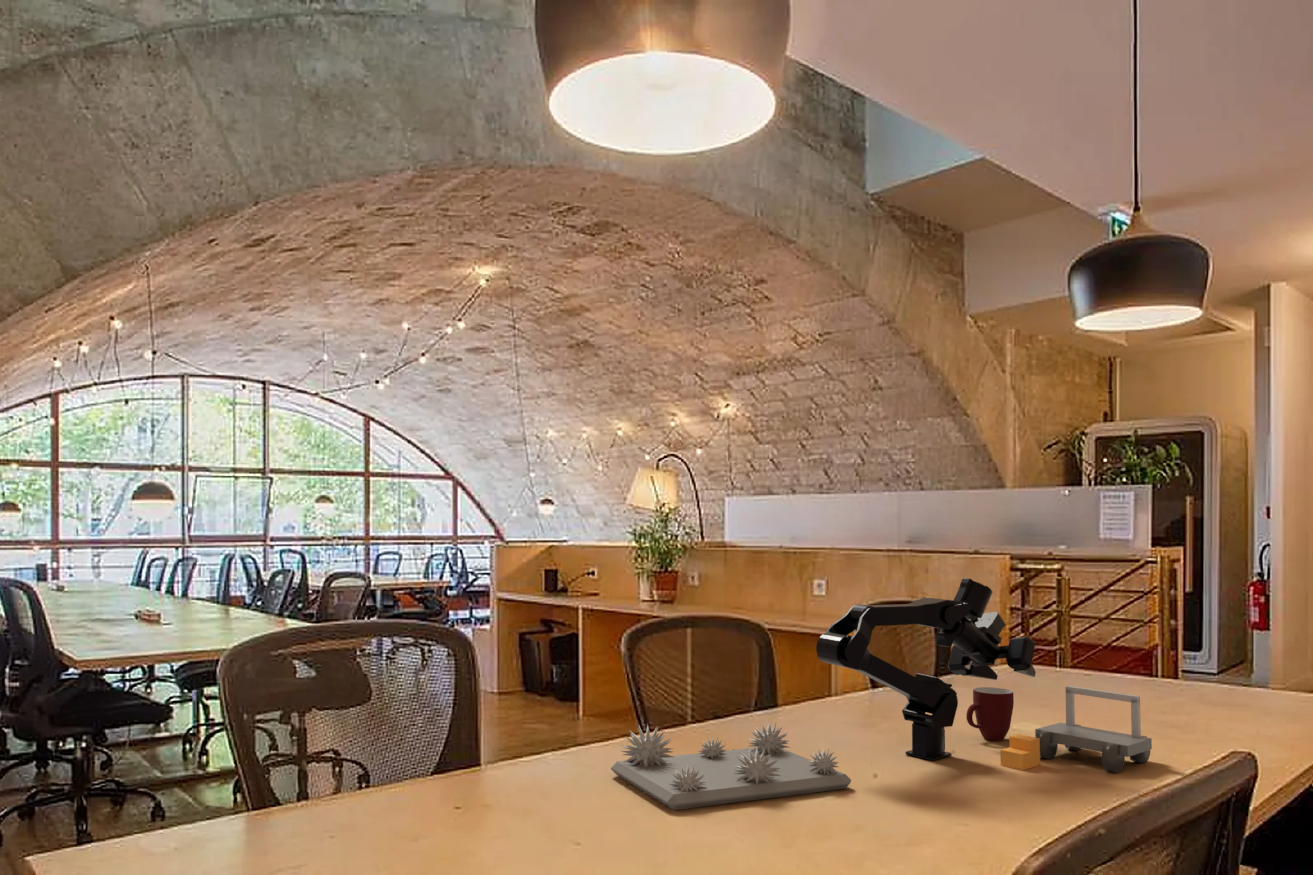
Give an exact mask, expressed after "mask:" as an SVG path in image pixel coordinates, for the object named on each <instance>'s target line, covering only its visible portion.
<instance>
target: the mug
mask: <svg viewBox="0 0 1313 875" xmlns="http://www.w3.org/2000/svg"><path fill="white" fill-rule="evenodd" d="M1014 702H1015V700H1014V691H1013V690H1010V689H1008V688H1007V689H1006V688H1004V687H1003V688H1002V687H993V686H992V687H991V686H990V687H987V686H986V687H984V686H983V687H982V686H981V687H975V688H973V690H972V704H970V705H969V707H968V708H967V710H966V713H965V714H966V718H965V719H966V722H967V723H968V725H969V726H970V727H972V728H974V729H978V730H979V733H980V734H981V736H982V738H983V739H984V740H986V741H989V742H990V741H991V742H1002V741H1004V740H1005V738H1006V736H1007V734H1008V733H1009V731H1010V727H1011V722H1012V716H1013V711H1014ZM973 714H975V719H976V723H975V722H974V720H973Z"/></svg>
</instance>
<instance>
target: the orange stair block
mask: <svg viewBox="0 0 1313 875" xmlns="http://www.w3.org/2000/svg"><path fill="white" fill-rule="evenodd" d="M1008 739H1009V740H1008V741H1009V744H1008V745H1009V747H1006V748H1002V749H1000V766H1002V767H1007V768H1012V769H1016V770H1021V771H1024V770H1027V769H1029V768H1030V769H1031V768H1035V767H1036V766H1040V764H1041V757H1040V738H1035V737H1033V736H1030V735H1025V734H1024V735H1023V734H1014V735H1010V736H1009V738H1008Z"/></svg>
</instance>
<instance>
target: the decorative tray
mask: <svg viewBox="0 0 1313 875" xmlns="http://www.w3.org/2000/svg"><path fill="white" fill-rule="evenodd" d="M776 727H777V723H775V724H774V725H773V727H772V726H771V725H770V722H768V724H767V727H766V728H765V726H764V725H763V722H761V723H760V728H761V730H759V729H758V728H757V727H755V726H754V728H755V729H754V732H753V731H750V730H749V732H750V733H751V734H752V735H753V736H754V737H755V738H748V739H747V740H748V741H751V742H749V745H748V747H747V748H737V749H728V750H727V749H723V748H725V746H726V743H725V744H722V740H721V741H718V739H719V737H717V738H716V740H715V741H714V737H713V736H712V737H711V741H710V739H709V737H708V736H707V738H706V740H707V742H706V741H705V740H703V739H702V743H700V742H699V744H700V745H701V746H702V747H701V748H699V750H700V751H698V752H697V753H696V752H695V753H687V754H677V755H675V754H674V755H670V754H668V753H673V751H671V750H673V749H675V748H671V747H665V746H667V745H668V744H670V743H671V742H672V740H671V739H672V738H668V739H665V740H663V739H664V737H665V735H664V733H665V731H663V732H661V733H660V732H658V730H659V727H658V725H656V727H655V729H654V730H653V732H652V734H650V729H649V724H648V723H647V725H646V732H645V735H644V732H643V730H642V729H641V726H640V724H638V731H639V737H638V735H636V734H635V733H634V732H632V731H631V730H629V732H630V734H629V736H630V738H629V737H627V736H625V735H624V737H625V739H627V741H629V742H630V743H631V745H623V746H622V745H621V746H620V747H621V748H624V749H627V750H623V751H621V750H620V752H622V753H623V754H622V756H628V757H629V756H630V757H629V758H628V759H625V760H618V761H616V762H615V763H613V765H612V766H611V767H610V770H611V771H612V773H614V774H615V775H616V776H618V777H619V778H621V779H622V780H624V781H625V782H627V783H629V784H631V785H632V786H634V787H635V788H637V789H639V790H641V791H642V792H643V793H645V794H647V795H648V796H649V797H651V798H653V799H655V800H657V801H658V802H659V803H661V804H663V805H665V806H667V808H669V809H671V810H673V811H676V810H677V811H678V810H683V809H684V810H686V809H692V808H693V809H694V808H700V807H701V808H702V807H709V806H717V805H726V804H732V803H733V804H734V803H741V802H742V803H743V802H748V801H756V800H765V799H766V800H767V799H773V798H781V797H782V798H783V797H789V796H797V795H805V794H813V793H822V792H829V791H837V790H844V789H845V790H846V789H847V788H848V787H849V786H850V784H851V782H852V779H851V778H850V777H849V776H848V775H847V774H846V773H844V772H842V771H839V770H836V769H835V768H839V765H838V764H839V763H840V762H839V761H835V759H837V756H834V757H832V756H833V755H834V752H831V753H830V754H829V751H830V750H829V748H828V749H827V751H826V752H825V749H824V747H823V748H822V750H821V751H820V749H818V748H817V749H816V752H817V753H815V752H813V753H812V755H810V754H809V756H810V757H811V758H812V759H813V760H811V759H809V758H807V757H804V756H801V755H799V754H797V753H794V752H792V751H789V750H787V749H789V748H790V749H791V747H790V746H788V745H789V743H787V742H789V740H785V739H784V738H785V737H786V736H787V735H788V732H787V733H784V734H781V735H780V733H781V732H782V729H783V727H780V728H778V729H776ZM657 732H658V733H657ZM783 739H784V740H783Z"/></svg>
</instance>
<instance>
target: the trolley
mask: <svg viewBox="0 0 1313 875" xmlns="http://www.w3.org/2000/svg"><path fill="white" fill-rule="evenodd" d="M1075 695H1081V696H1087V697H1092V698H1093V697H1094V698H1101V699H1107V700H1114V701H1121V702H1128V703H1130V718H1131V720H1130V721H1131V722H1130V723H1131V726H1130V727H1131V734H1129V733H1123V732H1116V731H1113V730H1111V731H1110V730H1105V729H1101V728H1094V727H1089V726H1084V725H1081V724H1078V723H1076V722H1075V721H1076V720H1075V719H1076V715H1075V714H1076V712H1075V709H1076V708H1075ZM1141 724H1142V723H1141V695H1134V694H1128V693H1121V692H1114V691H1108V690H1100V689H1092V688H1088V687H1087V688H1086V687H1080V686H1073V685H1066V686H1065V722H1058V723H1053V724H1050V725H1046V726H1041V727H1038V728H1035V731H1034V732H1035V738H1040V758H1042V759H1048V760H1051V759H1054V758H1055V757H1056V754H1057V752H1058V745H1061V746H1062V745H1063V746H1064V747H1065V748H1066V749H1068V750H1073V751H1078V752H1079V751H1080V750H1081V749H1083V750H1089V751H1094V752H1099V753H1100V752H1101V759H1100V760H1101V765H1102V767H1103V769H1104V770H1105V771H1108V772H1111V773H1117V774H1118V773H1120V772H1122V771H1123V769H1124V766H1125V762H1126V761H1125V758H1129V759H1130V761H1131V762H1134V763H1140V764H1146V763H1147V762H1148V761H1149V759H1150V755H1151V750H1152V737H1148V736H1146V735H1142V734H1141V733H1142V732H1141V731H1142V730H1141V729H1142V728H1141Z"/></svg>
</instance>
